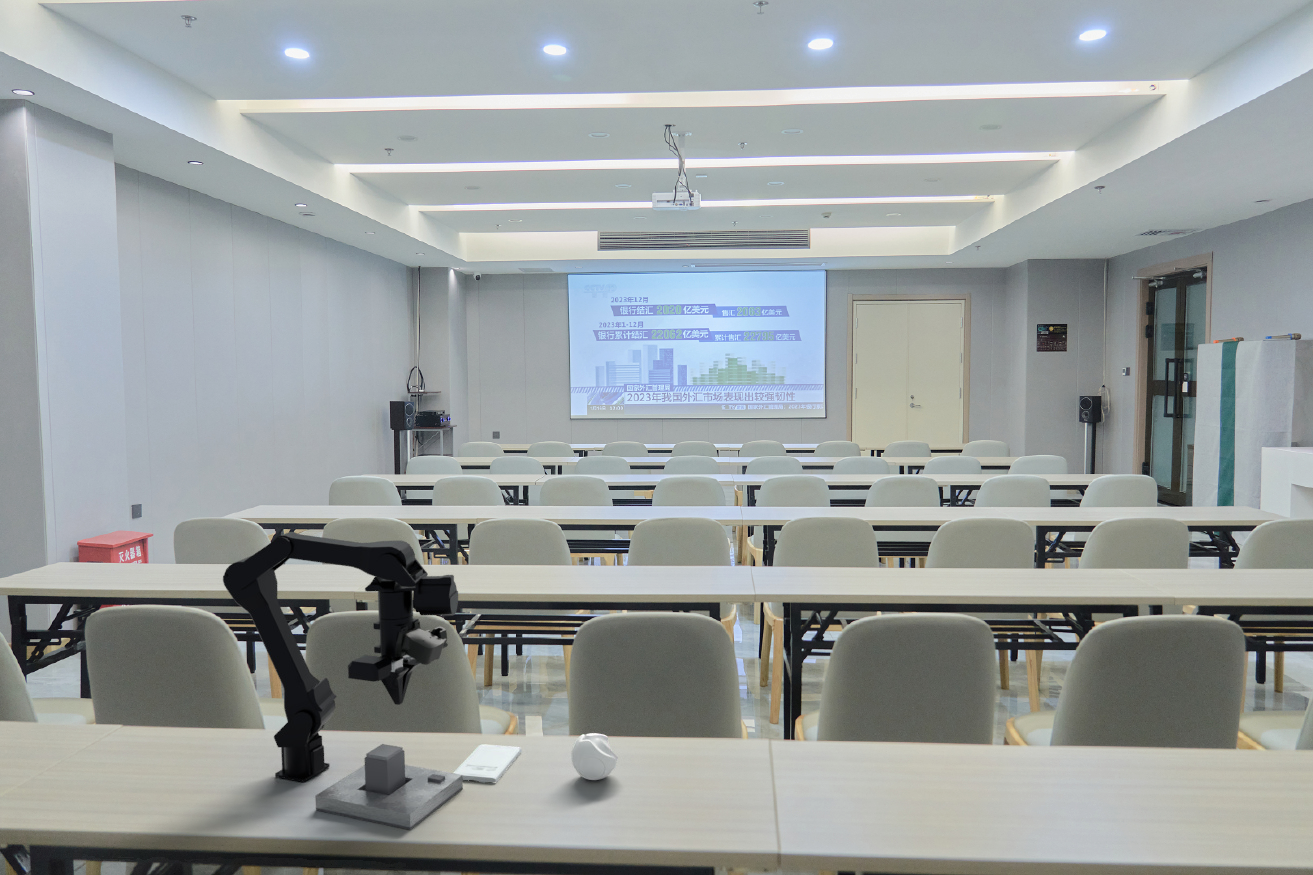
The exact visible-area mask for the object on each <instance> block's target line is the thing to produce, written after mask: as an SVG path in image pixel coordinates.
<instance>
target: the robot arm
mask: <svg viewBox="0 0 1313 875" xmlns="http://www.w3.org/2000/svg"><path fill="white" fill-rule="evenodd" d="M290 559H291V560H298V561H308V562H314V563H322V564H327V565H328V564H329V565H336V566H342V567H343V566H344V567H351V568H355V569H358V570H360V571H361V572H364V573H365V574H367V575H370V576H372V577H373V579H372V581H370V583H369V584H368V585H367V586H366V587H365V588H364V591H365V592H369V593H370V592H371V593H372V592H377V606H378V607H377V608H378V621H376V622H373V630H377V631H378V634H379V635H378V638H379V639H378V640H379V644H378V645H376V646H374V647H373V650H374V651H373V652H374V653H375V654H380V656H378V655H377V656H376V655H368V654H364V655H363V656H360V657H357V658H355V659H353V660H352V661H351V662H350V663H349V664H348V665H347V677H348V679H352V680H359V681H366V682H367V681H368V682H380V681H381V683H382V684H383V686H384V688H385V689H386V691H387V693H388V694H389V697H390V698H391V700H392V702H393V703H394V705H397V706H398V705H399V706H400V705H402V704H403V703H404V701H405V700H404V699H405V696H406V693H407V691H408V690H407V689H408V686H409V682H410V679H411V677H412V674H413V672H414V670H416V669H417V668H418V667H419V666H420V665H430V664H431V663H433V662H434V661H436V660H439V659H441V655H442V652H443V650H444V649H445V648H448V632H447V628H444V627H443V626H437V627H435V628H433V629H432V630H430V629H427V630H424V629H422V628H421V621H419V618H414V610H415V613H419V616H455V615H456V613H457V610H458V607H459V606H458V605H459V591H458V589H457V584H456V582H455V575H454V574H444V575H428V572H427V570H426V569H425V568H424V567H423V566H422V564H421V563H420V562H419V561H418V559H417V558H416V553H415V551H414V548H413V547H412V546H411V544H410V543H409V542H407V541H404V540H381V541H379V540H378V541H371V542H358V541H357V542H356V541H350V540H341V539H337V538H326V537H320V536H315V535H314V536H313V535H306V534H300V533H297V532H294V531H289V532H286V533H283V534H281V535H279V536H276V537H275V538H274V539H273V540H272V541H271V542H270V543H269V544H267V545H266V546H264V547H263V548H261V549H260V550H258V551H257V552H256V553H254V554H252V555H250V556H247V557H245V558H242V559H240V560H238V561H235V562H233V563H231V564H230V565H228V567H226V569H225V571H224V574H223V576H222V582H223V586H224V588H225V589H226V590H227V592H228V593H229V595H230V596H231V598H232V599H233V600H234V601H235V602H234V603H236V604H237V605H239V606H240V607H241V608H242V609H243V610H244V611H246V612H247V613H248V614H249V616H250V617H251V619H252V621H253V624H254V626H255V629H256V631H257V632H258V635H259V637H260V639H261V640H262V641H261V642H262V643H263V645H264V648H265V651H266V652H267V655H268V657H269V659H270V661H271V664H272V665H273V668H274V670H275V672H276V674H277V676H278V679H279V681H280V683H281V684H282V687H283V709H284V712H285V716H286V720H287V722H286V723H285V724H284V725H283V726H282V727H281V728H280V729H279V730H278V731H277V732H276V733H275V734H274V735H273V739H274V741H275V744H276V746H277V748H281V749H280V750H281V753H280V754H281V770H279V771H276V772H275V774H274V776H275V777H276V778H281V779H286V780H291V781H292V780H293V781H297V782H302V783H303V782H307V781H308V780H310V779H311V778H313V777H315V776H317V775H318V774H320V773H323V771H325V770H327V769H328V768H330V765H331V764H330V763H328V762H325V746H324V745H323V735H320V734H319V732H320V731H321V730H323V729H324V727H325V725H326V723H327V722H328V721H329V720H330V719H331V718H332V716H333V715H334V713H335V710H336V702H335V699H337V697H338V696H337V695H336V694H335V693H334V691H333V690H332V689H331V685H330V680H329V679H328V678H327V677H324V678H323V679H321V680H319V679H318V678H317V677H315V676H314V675H313V674H312V673H311V671H310V669H309V666H308V665H307V664H308V663H307V662H306V660H305V659H304V656H303V654H302V652H301V649H300V647H299V645H298V643H297V640H296V637H295V636H294V634H293V631H292V630H291V628H290V624H289V623H288V621H287V619H286V616H285V615H284V612H283V610H282V607H281V605H280V603H279V599H278V579H277V576H276V573H275V571H276V570H278V569H279V568H281V567H282V566H284V564H285V563H286V562H288V560H290Z"/></svg>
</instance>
